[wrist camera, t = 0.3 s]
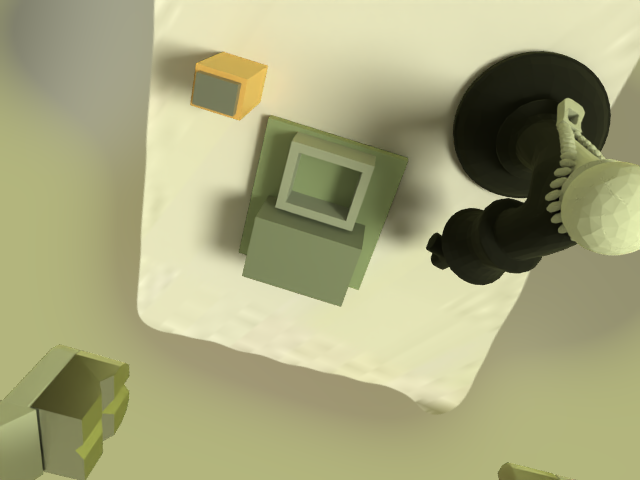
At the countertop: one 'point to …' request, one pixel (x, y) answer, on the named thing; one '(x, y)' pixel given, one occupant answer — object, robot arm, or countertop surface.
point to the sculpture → (537, 170)
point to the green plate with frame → (316, 210)
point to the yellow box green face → (228, 85)
